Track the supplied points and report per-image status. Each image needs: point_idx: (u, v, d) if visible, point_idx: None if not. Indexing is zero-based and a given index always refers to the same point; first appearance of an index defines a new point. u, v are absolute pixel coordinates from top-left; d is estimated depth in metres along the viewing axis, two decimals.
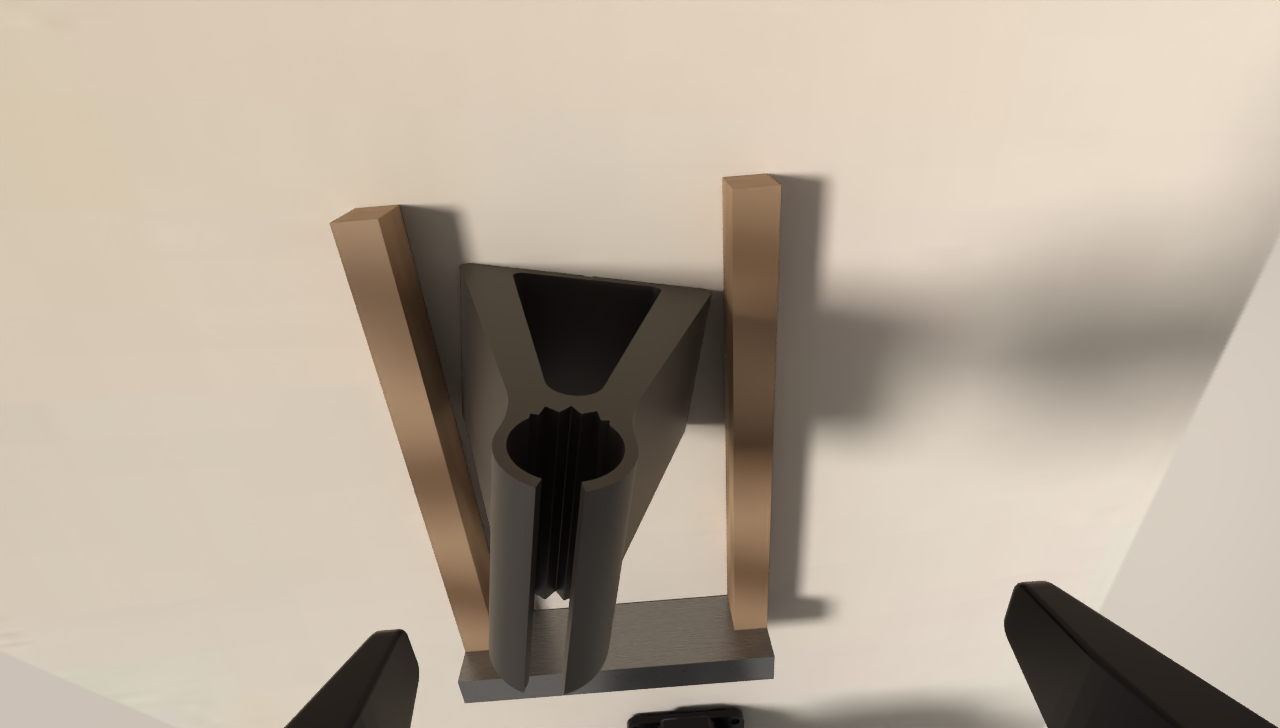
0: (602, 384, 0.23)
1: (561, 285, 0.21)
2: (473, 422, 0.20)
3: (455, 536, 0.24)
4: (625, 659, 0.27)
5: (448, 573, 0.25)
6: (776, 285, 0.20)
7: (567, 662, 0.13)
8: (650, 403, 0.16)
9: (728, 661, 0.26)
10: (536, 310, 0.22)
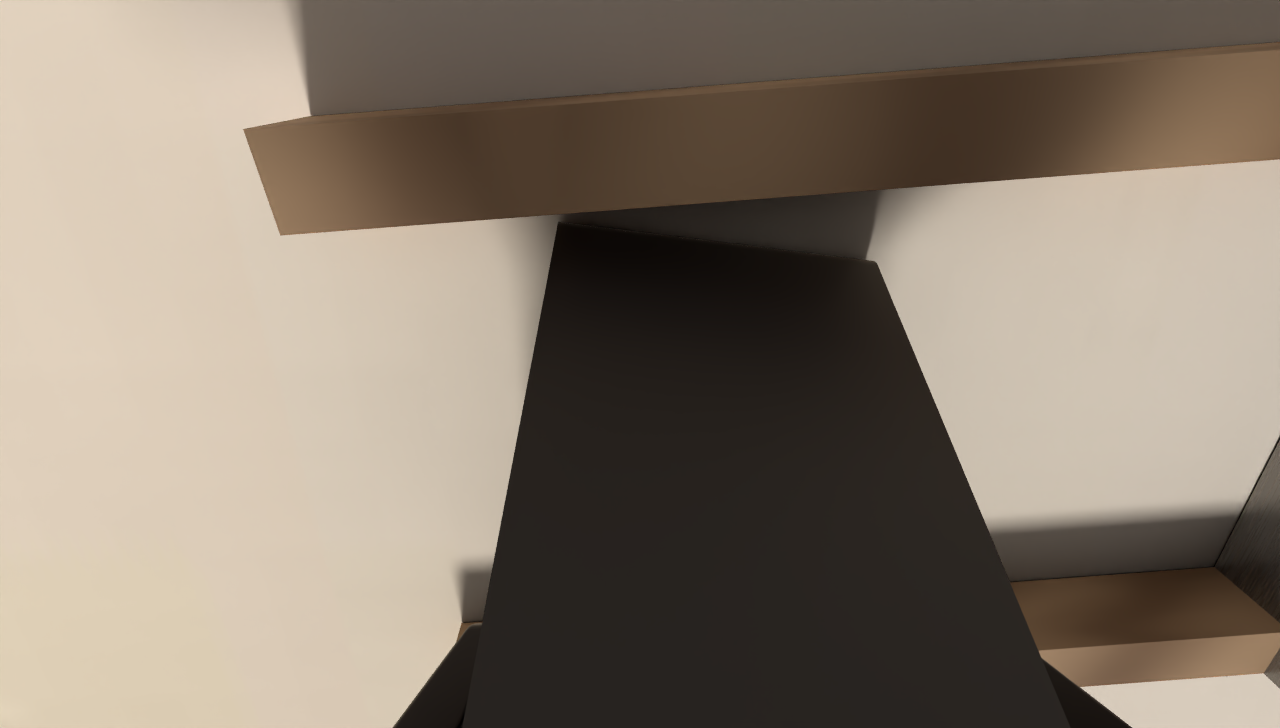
0: None
1: None
2: None
3: None
4: None
5: None
6: (484, 110, 0.08)
7: None
8: (558, 665, 0.06)
9: None
10: None
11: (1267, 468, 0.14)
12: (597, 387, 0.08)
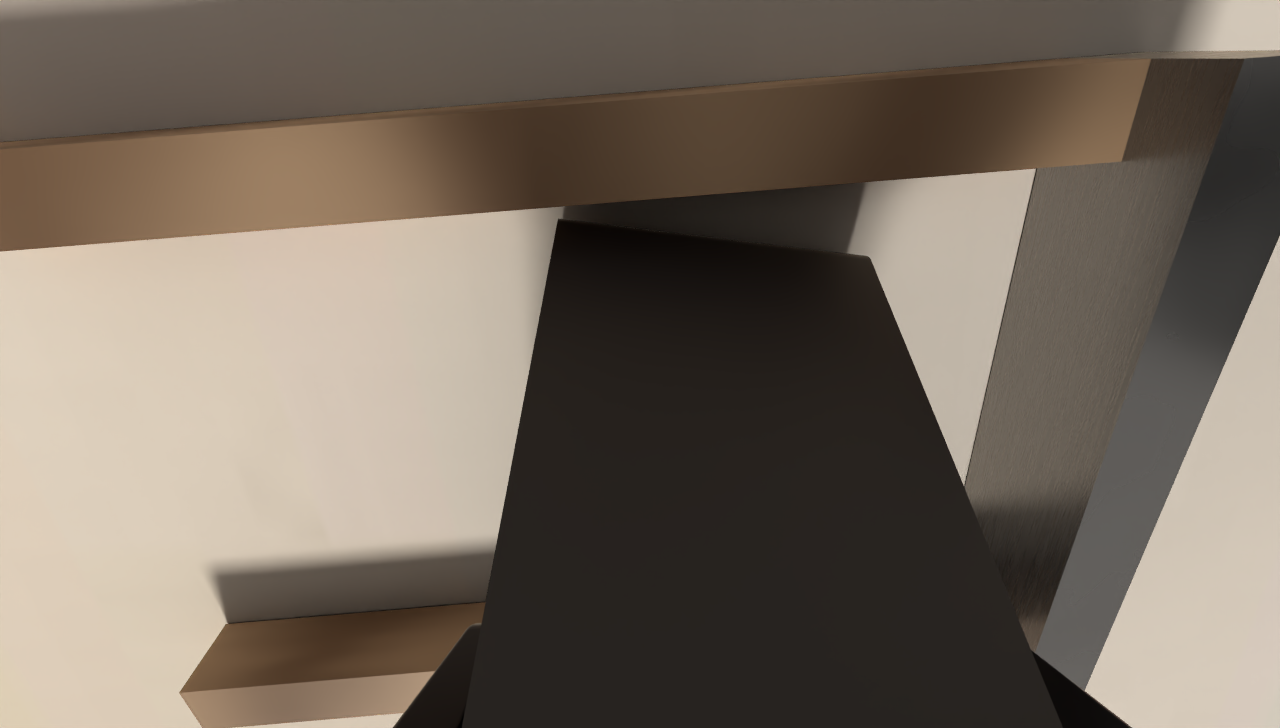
0: None
1: None
2: None
3: None
4: (1082, 453, 0.11)
5: None
6: (57, 143, 0.09)
7: None
8: (558, 641, 0.06)
9: (1196, 213, 0.09)
10: None
11: (971, 469, 0.15)
12: (596, 378, 0.08)
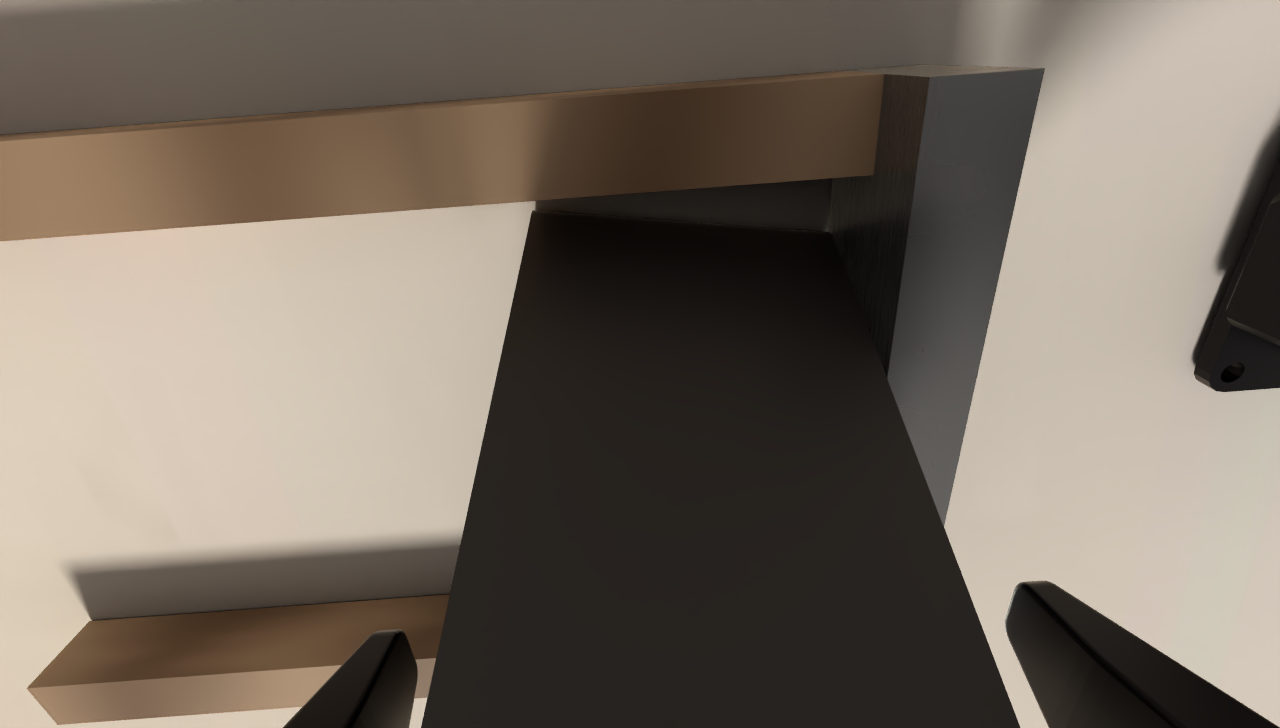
0: None
1: None
2: None
3: None
4: None
5: None
6: None
7: None
8: (524, 583, 0.07)
9: (915, 228, 0.09)
10: None
11: None
12: (565, 354, 0.09)
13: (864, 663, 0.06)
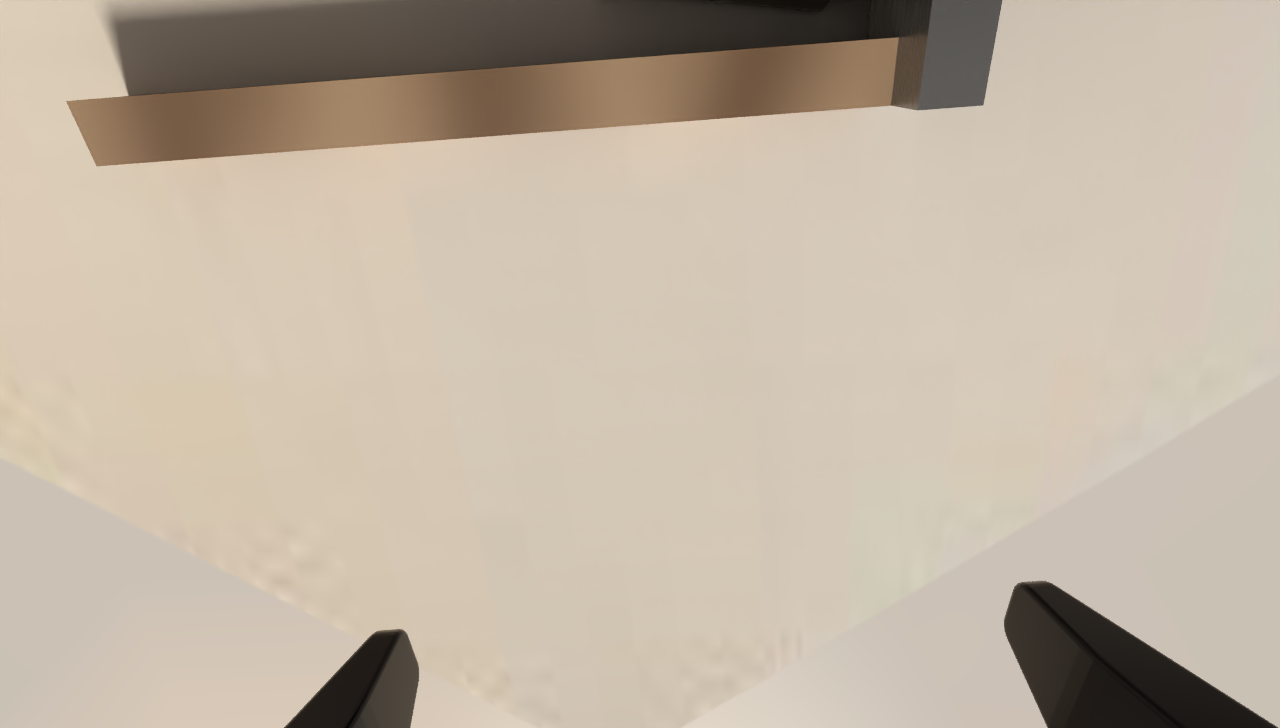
0: None
1: None
2: None
3: (608, 79, 0.14)
4: None
5: (691, 106, 0.15)
6: None
7: None
8: None
9: None
10: None
11: None
12: None
13: None
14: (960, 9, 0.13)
